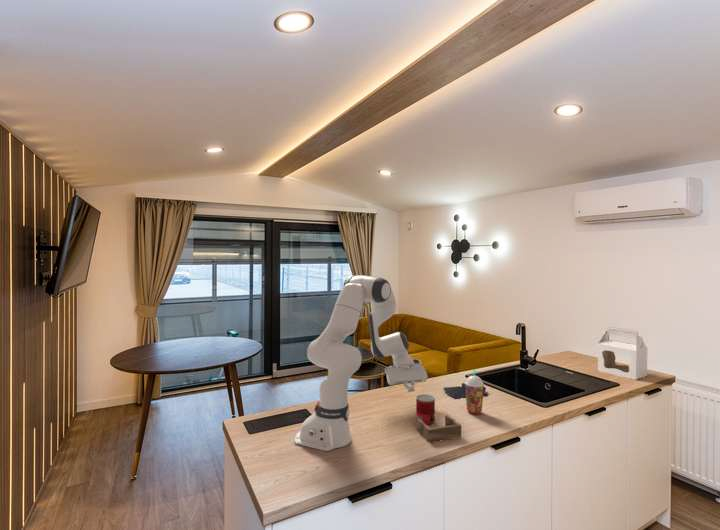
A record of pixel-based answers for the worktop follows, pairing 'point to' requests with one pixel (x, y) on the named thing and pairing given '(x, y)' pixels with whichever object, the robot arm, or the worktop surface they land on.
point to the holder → (440, 430)
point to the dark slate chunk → (459, 391)
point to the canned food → (425, 409)
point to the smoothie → (474, 394)
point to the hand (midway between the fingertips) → (411, 391)
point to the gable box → (636, 353)
